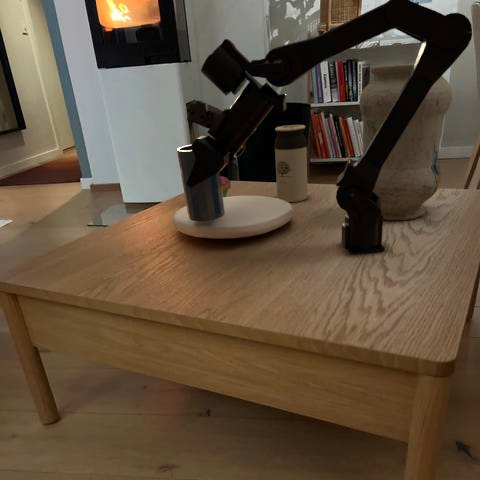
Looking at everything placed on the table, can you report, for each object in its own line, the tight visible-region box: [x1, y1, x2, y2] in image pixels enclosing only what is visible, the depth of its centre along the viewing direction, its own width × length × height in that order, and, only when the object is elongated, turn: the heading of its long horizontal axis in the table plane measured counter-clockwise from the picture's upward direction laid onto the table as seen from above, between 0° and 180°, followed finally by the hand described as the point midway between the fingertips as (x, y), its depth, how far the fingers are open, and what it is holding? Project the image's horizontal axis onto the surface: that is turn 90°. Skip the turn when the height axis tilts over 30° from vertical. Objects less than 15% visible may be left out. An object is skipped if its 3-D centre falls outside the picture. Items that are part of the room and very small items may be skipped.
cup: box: [176, 144, 225, 221], centre depth 91 cm, size 7×7×13 cm
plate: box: [172, 195, 294, 239], centre depth 106 cm, size 28×6×27 cm
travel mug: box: [274, 124, 308, 203], centre depth 122 cm, size 8×8×18 cm
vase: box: [358, 63, 453, 221], centre depth 101 cm, size 18×18×30 cm
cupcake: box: [220, 175, 232, 197], centre depth 128 cm, size 9×8×12 cm
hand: (194, 181), depth 91 cm, fingers closed on cup, 7 cm apart
